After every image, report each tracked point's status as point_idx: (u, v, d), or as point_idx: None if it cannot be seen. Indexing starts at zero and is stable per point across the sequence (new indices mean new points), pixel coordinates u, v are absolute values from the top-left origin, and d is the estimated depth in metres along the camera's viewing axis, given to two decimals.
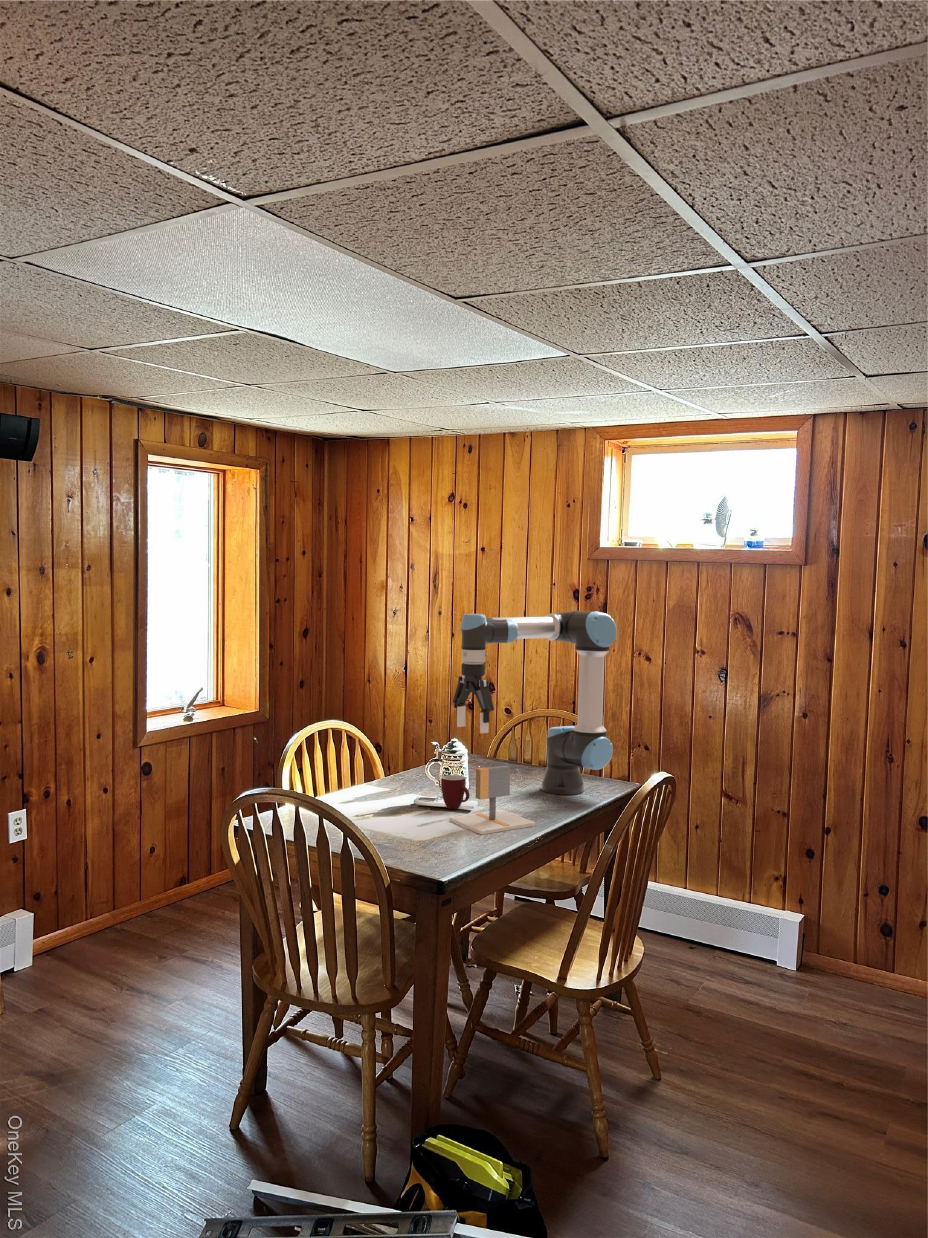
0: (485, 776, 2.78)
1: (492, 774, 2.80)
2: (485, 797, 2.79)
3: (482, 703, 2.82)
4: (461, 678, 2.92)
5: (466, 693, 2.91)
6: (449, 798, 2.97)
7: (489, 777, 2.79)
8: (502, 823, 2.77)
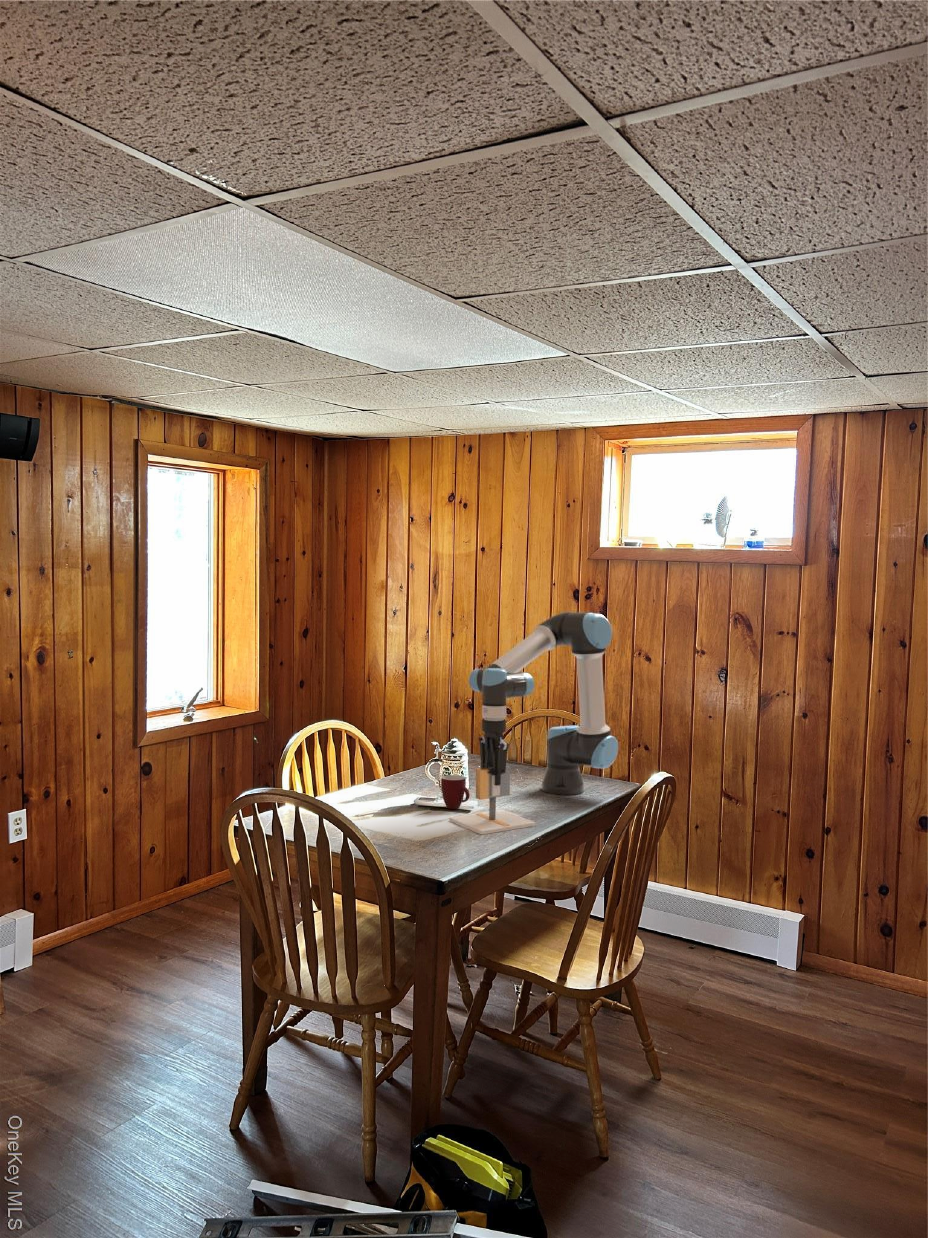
0: (485, 776, 2.78)
1: None
2: (485, 797, 2.79)
3: (496, 766, 2.79)
4: (481, 738, 2.85)
5: (490, 753, 2.82)
6: (449, 798, 2.97)
7: (489, 777, 2.79)
8: (502, 823, 2.77)
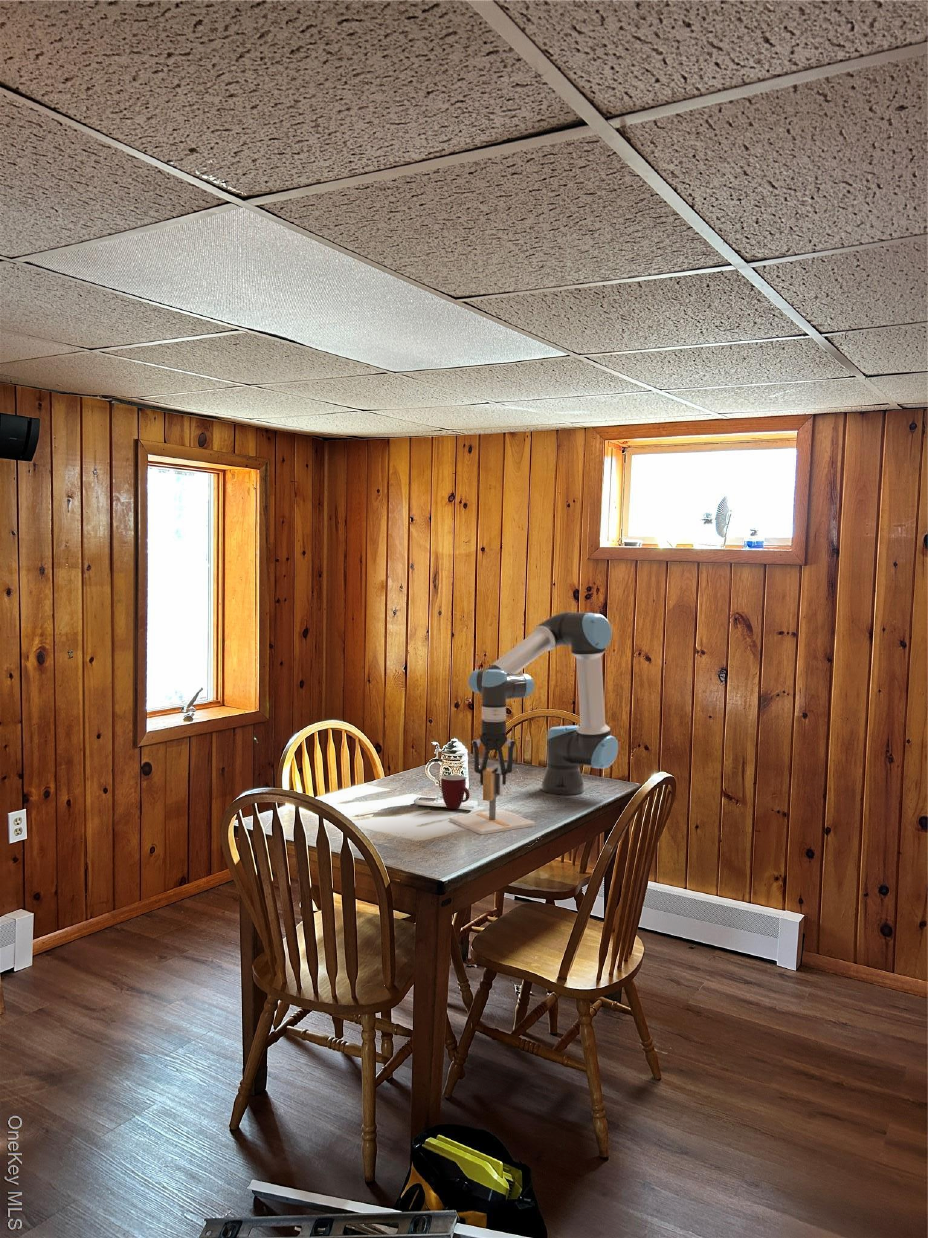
0: (493, 777, 2.78)
1: (495, 773, 2.80)
2: (493, 798, 2.78)
3: (504, 765, 2.81)
4: (476, 742, 2.80)
5: None
6: (449, 798, 2.97)
7: (494, 777, 2.79)
8: (502, 823, 2.77)
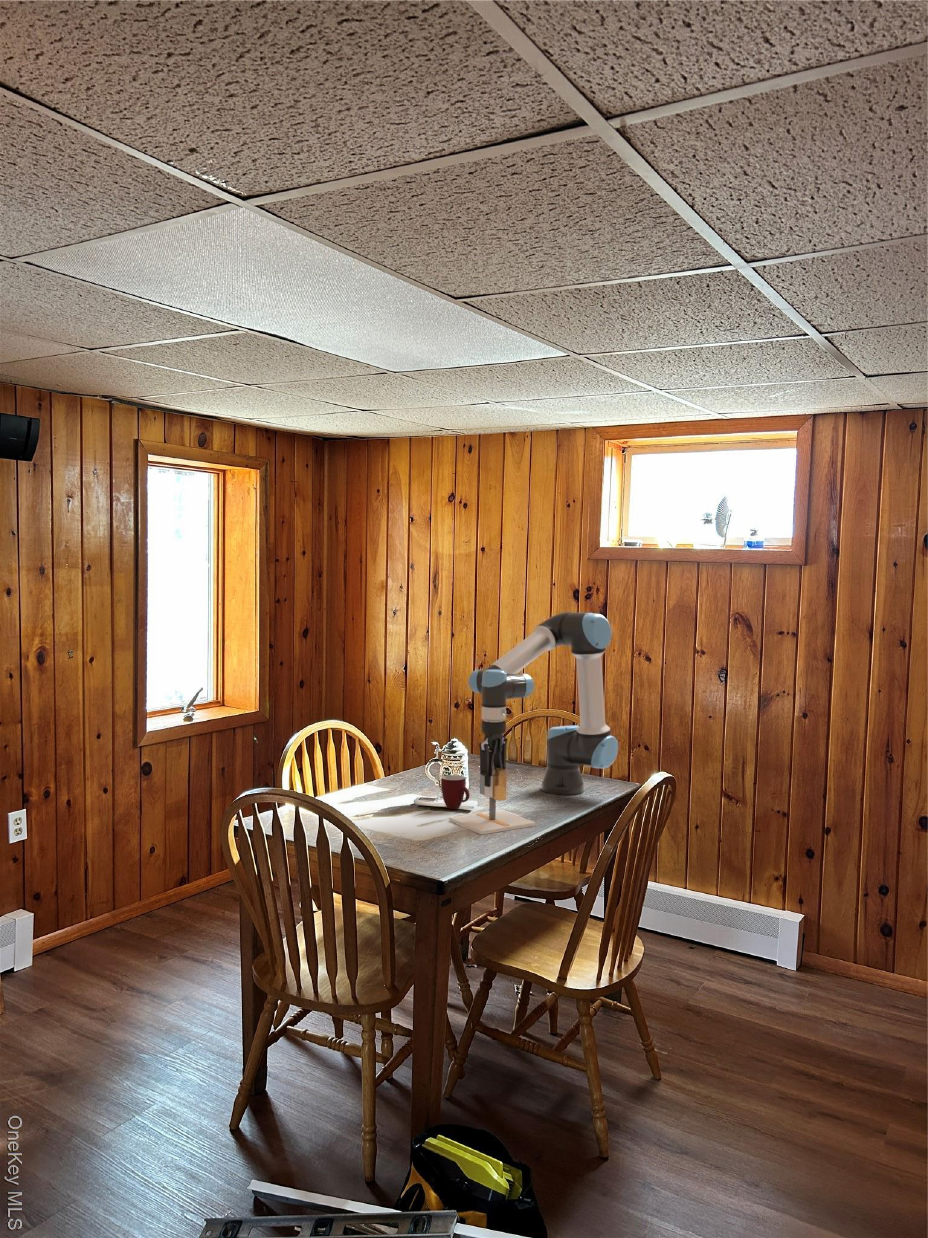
0: None
1: None
2: None
3: None
4: None
5: None
6: (449, 798, 2.97)
7: None
8: (502, 823, 2.77)
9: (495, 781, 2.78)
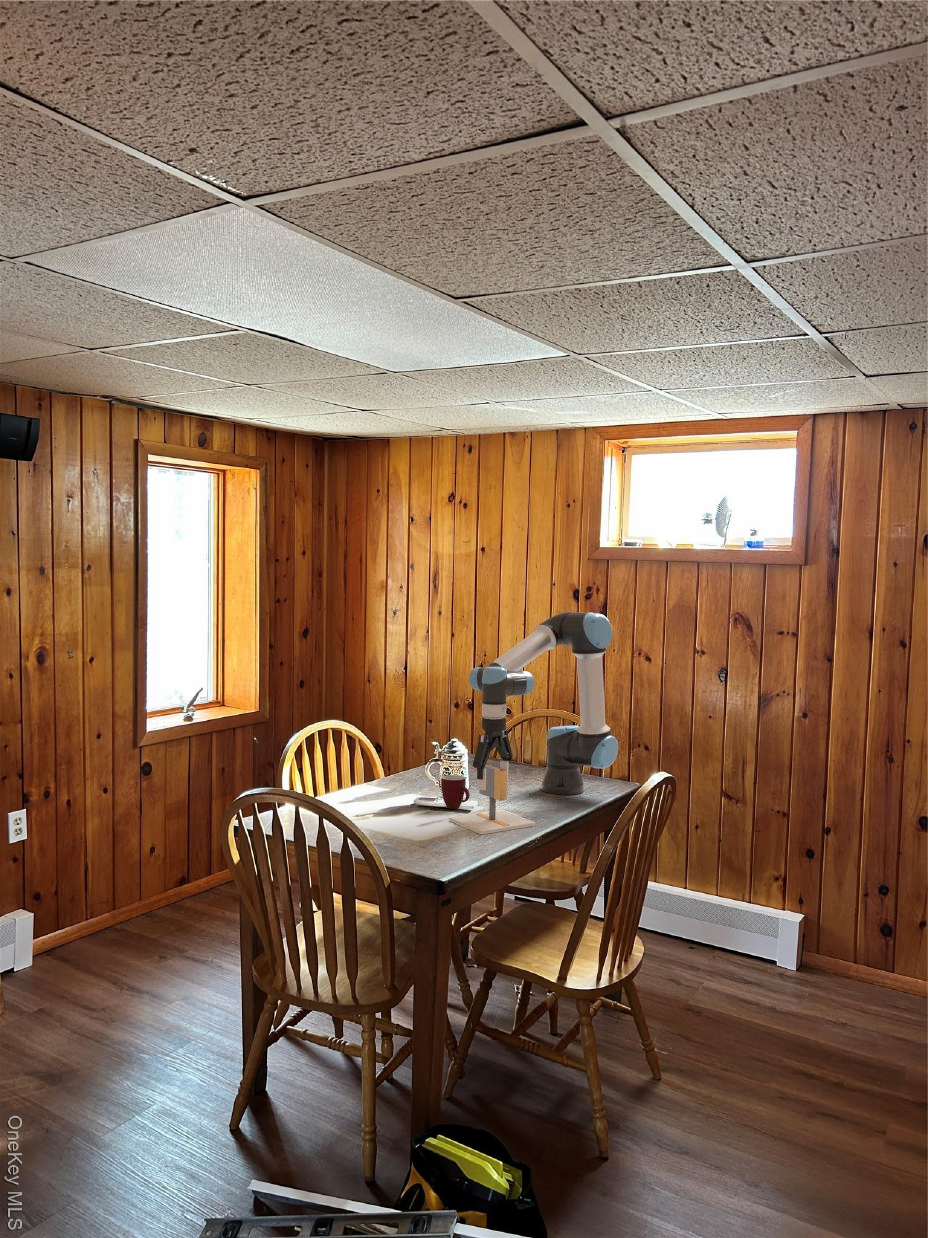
0: None
1: None
2: None
3: None
4: None
5: None
6: (449, 798, 2.97)
7: None
8: (502, 823, 2.77)
9: (495, 781, 2.78)
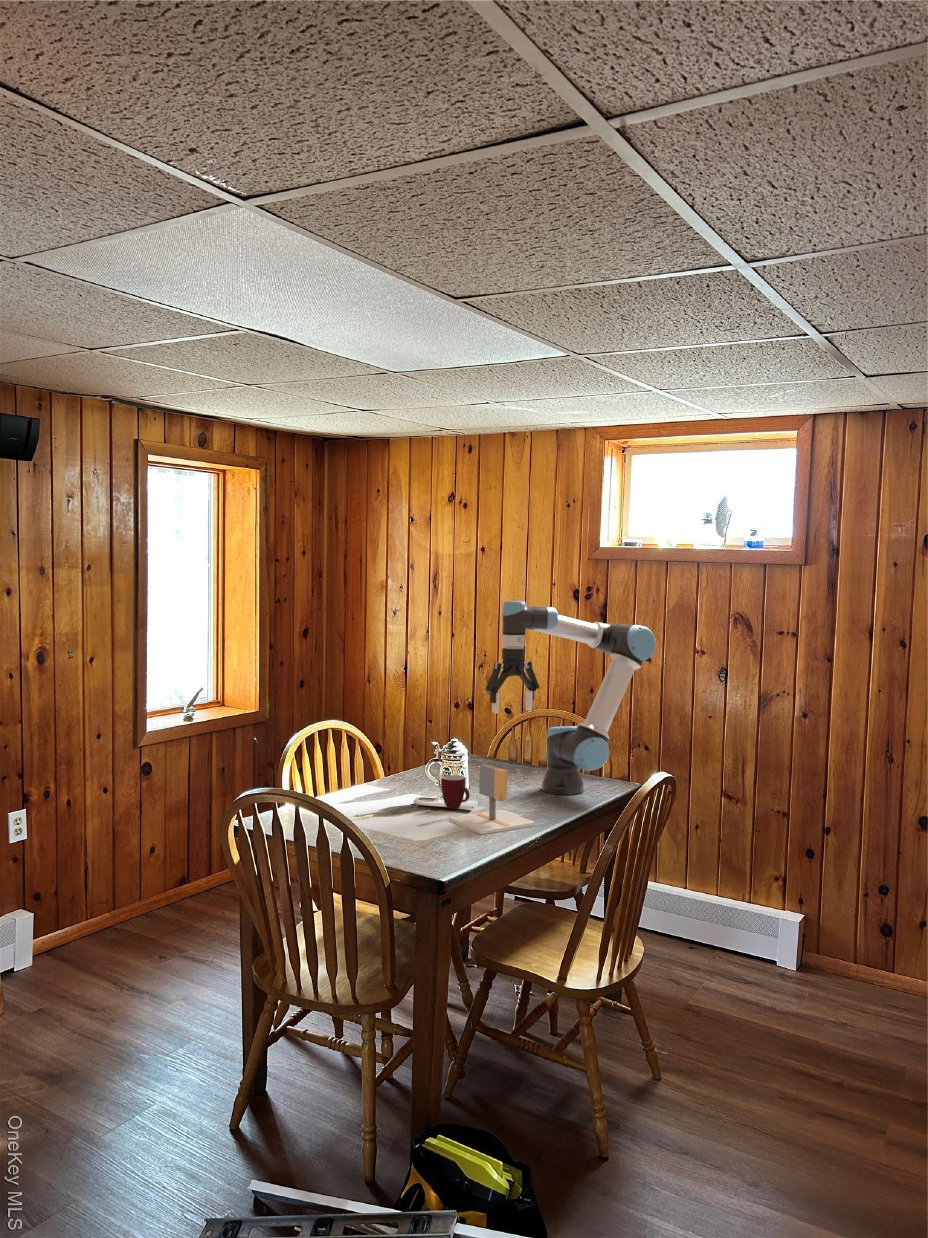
0: None
1: None
2: None
3: None
4: None
5: None
6: (449, 798, 2.97)
7: None
8: (502, 823, 2.77)
9: (495, 781, 2.78)
